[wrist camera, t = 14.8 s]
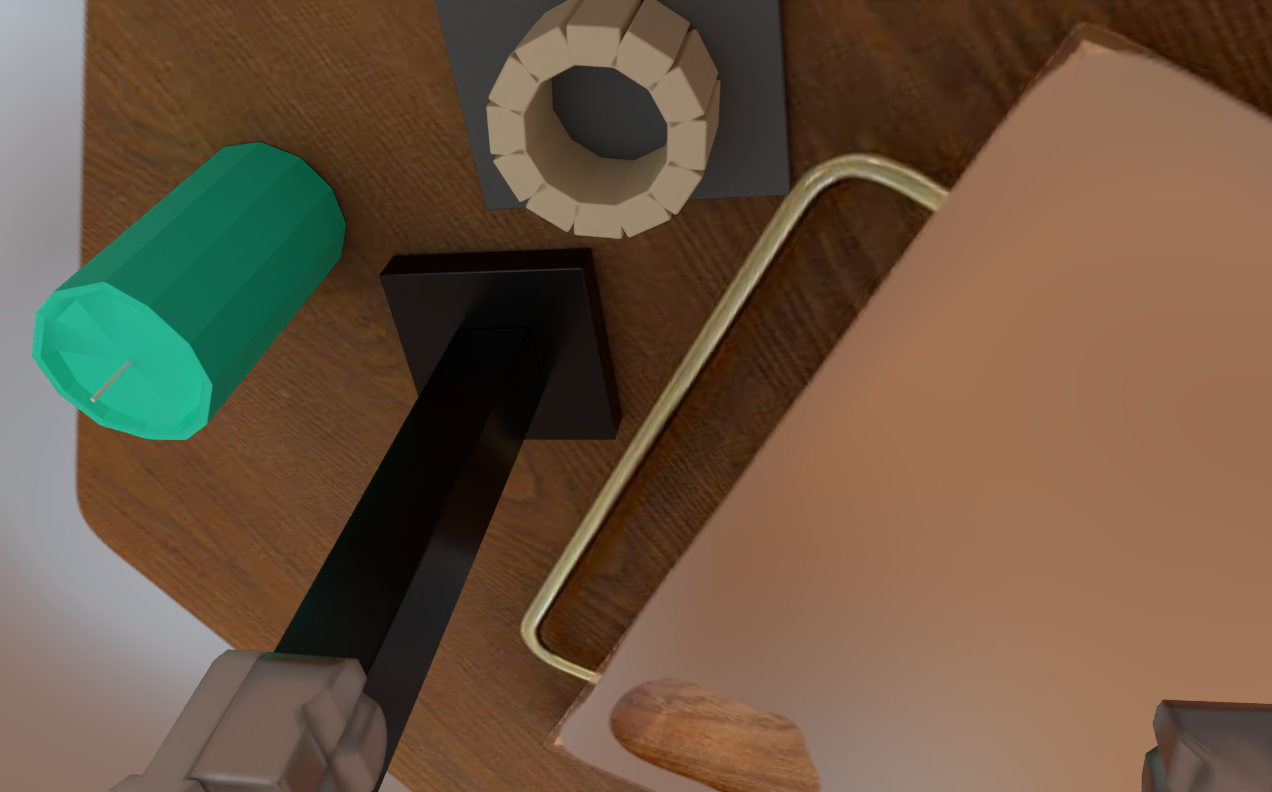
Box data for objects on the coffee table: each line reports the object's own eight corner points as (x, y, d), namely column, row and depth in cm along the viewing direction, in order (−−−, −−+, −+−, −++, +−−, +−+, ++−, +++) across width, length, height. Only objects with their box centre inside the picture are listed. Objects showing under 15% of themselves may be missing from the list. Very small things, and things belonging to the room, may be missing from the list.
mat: (420, -88, 33) (413, -83, 33) (772, -129, 31) (770, -125, 30) (490, 203, 39) (485, 210, 38) (791, 187, 36) (790, 195, 36)
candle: (371, 203, 40) (215, 392, 30) (313, 307, 43) (157, 505, 34) (227, 110, 38) (17, 277, 29) (179, 225, 42) (-22, 407, 33)
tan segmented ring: (510, -16, 33) (477, 19, 31) (724, -4, 32) (710, 33, 30) (524, 182, 37) (496, 228, 35) (714, 197, 36) (702, 246, 34)
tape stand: (392, 255, 41) (-296, 1199, 17) (591, 247, 39) (137, 1291, 15) (443, 417, 46) (-41, 1342, 22) (622, 417, 44) (314, 1425, 20)
